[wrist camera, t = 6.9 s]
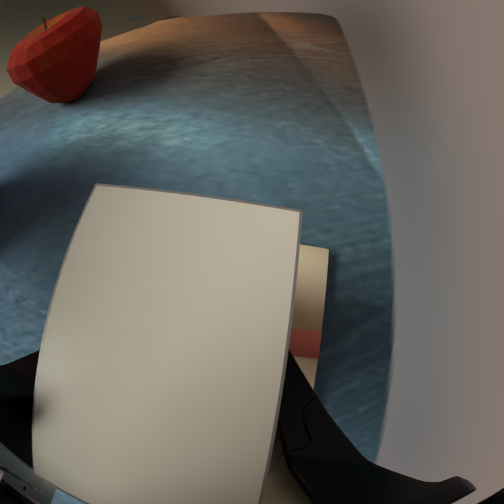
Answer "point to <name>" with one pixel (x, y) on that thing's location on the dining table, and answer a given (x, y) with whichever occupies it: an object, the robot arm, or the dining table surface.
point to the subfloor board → (309, 309)
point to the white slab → (166, 349)
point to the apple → (58, 56)
